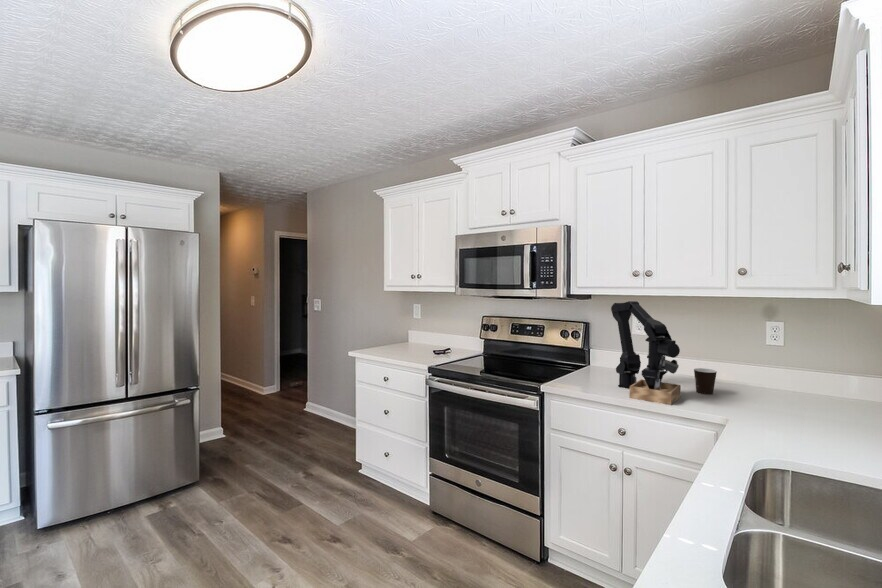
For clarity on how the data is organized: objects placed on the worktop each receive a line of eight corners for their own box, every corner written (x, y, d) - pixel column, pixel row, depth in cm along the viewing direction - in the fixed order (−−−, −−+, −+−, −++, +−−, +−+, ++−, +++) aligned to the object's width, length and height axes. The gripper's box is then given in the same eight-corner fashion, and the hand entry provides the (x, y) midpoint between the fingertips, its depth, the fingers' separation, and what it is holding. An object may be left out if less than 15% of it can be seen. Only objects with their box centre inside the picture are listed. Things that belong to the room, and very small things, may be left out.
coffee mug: (711, 396, 191) (712, 373, 191) (690, 392, 198) (690, 370, 197) (721, 392, 198) (722, 369, 198) (700, 388, 205) (701, 366, 205)
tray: (629, 397, 189) (629, 386, 189) (640, 390, 202) (641, 379, 201) (670, 405, 179) (671, 392, 179) (680, 396, 191) (680, 385, 191)
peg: (649, 397, 190) (649, 378, 190) (651, 395, 193) (652, 377, 192) (658, 399, 188) (658, 380, 187) (660, 397, 190) (661, 378, 190)
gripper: (671, 358, 177) (670, 397, 178) (682, 352, 191) (681, 388, 192) (641, 355, 184) (640, 393, 185) (654, 349, 199) (653, 384, 199)
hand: (655, 389), depth 190 cm, fingers open, 9 cm apart
